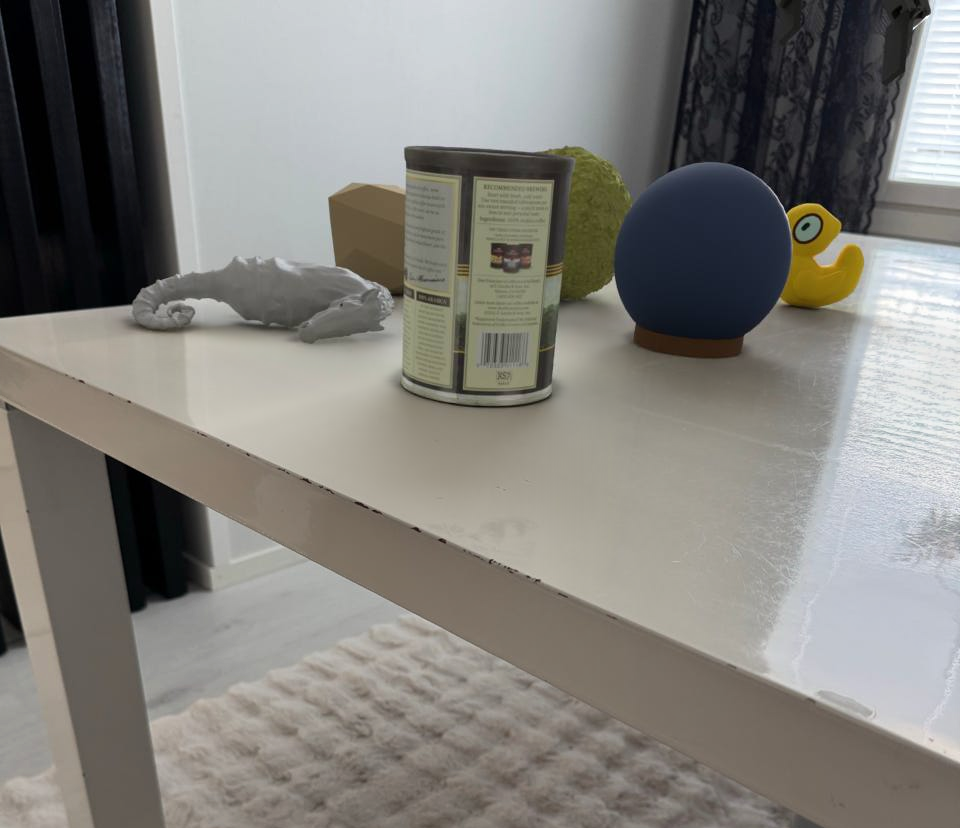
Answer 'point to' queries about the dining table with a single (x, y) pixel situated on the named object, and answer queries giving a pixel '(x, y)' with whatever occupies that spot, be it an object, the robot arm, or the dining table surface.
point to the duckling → (808, 277)
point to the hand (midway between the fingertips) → (841, 58)
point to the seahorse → (274, 297)
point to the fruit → (591, 222)
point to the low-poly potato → (370, 232)
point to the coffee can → (482, 272)
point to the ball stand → (702, 260)
